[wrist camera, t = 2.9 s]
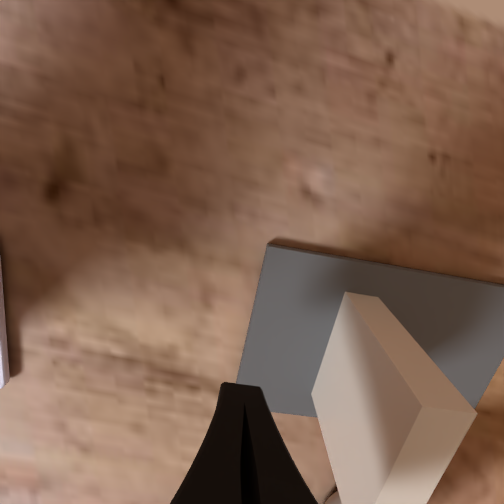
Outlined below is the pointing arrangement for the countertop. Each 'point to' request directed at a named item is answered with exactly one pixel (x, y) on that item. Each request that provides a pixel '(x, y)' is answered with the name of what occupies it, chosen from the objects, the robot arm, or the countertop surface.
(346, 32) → the countertop surface
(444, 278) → the mat
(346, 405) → the tile
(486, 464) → the countertop surface
